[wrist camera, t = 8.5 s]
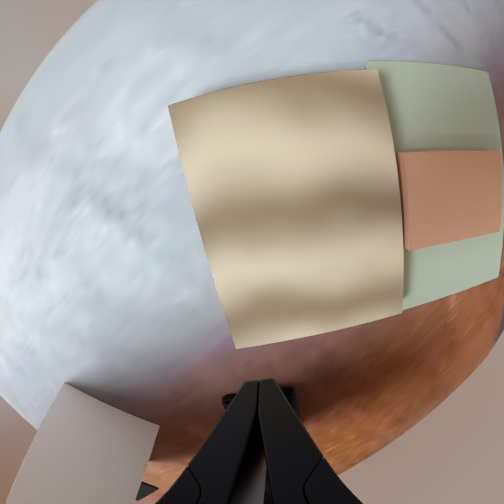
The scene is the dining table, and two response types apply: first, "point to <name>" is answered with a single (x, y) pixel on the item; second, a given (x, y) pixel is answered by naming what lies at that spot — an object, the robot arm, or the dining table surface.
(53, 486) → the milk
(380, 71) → the mat
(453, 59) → the dining table surface
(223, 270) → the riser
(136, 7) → the dining table surface
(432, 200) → the tile
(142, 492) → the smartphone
